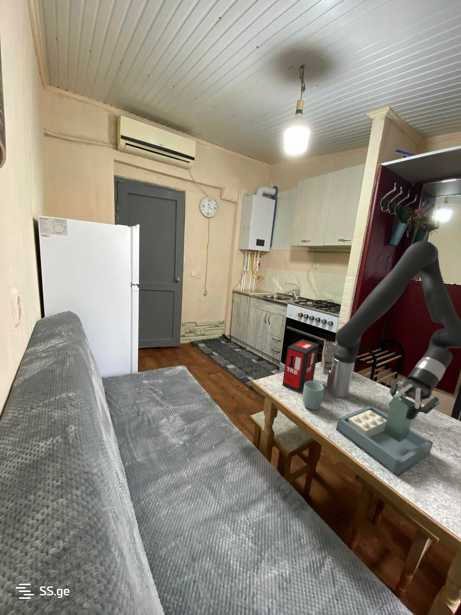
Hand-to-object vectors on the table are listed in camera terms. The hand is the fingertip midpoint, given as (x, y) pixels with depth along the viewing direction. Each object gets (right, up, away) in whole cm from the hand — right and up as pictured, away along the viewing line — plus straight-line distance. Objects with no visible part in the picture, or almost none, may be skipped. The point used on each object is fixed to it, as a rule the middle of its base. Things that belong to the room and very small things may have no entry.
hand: (399, 413), depth 83 cm
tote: (-2, -13, +7) cm, 15 cm away
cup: (-22, -8, +25) cm, 34 cm away
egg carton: (-5, -12, +12) cm, 17 cm away
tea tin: (0, -8, +2) cm, 9 cm away
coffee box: (-1, -1, +59) cm, 59 cm away
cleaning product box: (-22, -3, +43) cm, 49 cm away
